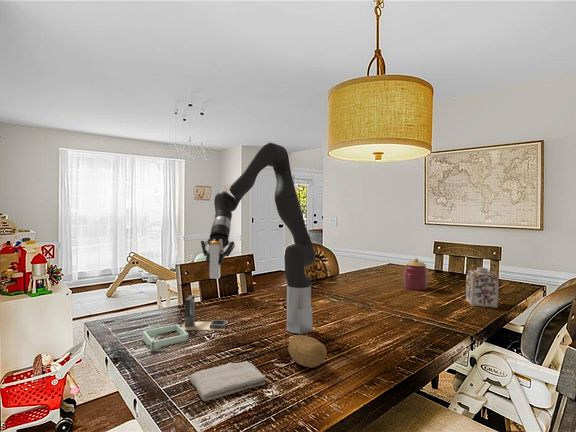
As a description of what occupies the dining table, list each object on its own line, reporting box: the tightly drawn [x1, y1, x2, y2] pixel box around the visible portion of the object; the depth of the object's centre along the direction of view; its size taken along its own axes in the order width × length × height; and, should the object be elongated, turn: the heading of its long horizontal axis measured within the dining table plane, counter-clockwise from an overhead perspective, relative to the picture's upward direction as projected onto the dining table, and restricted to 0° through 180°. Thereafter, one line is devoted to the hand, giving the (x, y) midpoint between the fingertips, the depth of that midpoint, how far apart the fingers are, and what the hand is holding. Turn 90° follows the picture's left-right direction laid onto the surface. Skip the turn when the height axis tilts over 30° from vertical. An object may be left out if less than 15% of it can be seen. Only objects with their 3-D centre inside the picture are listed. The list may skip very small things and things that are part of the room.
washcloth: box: [188, 360, 266, 402], centre depth 92 cm, size 12×18×3 cm, turn 122°
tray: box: [141, 323, 190, 352], centre depth 119 cm, size 12×12×3 cm
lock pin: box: [209, 241, 221, 280], centre depth 132 cm, size 4×4×14 cm
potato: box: [287, 334, 328, 369], centre depth 103 cm, size 10×14×8 cm
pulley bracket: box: [180, 295, 228, 331], centre depth 132 cm, size 17×9×12 cm, turn 92°
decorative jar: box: [465, 266, 500, 309], centre depth 170 cm, size 12×12×18 cm
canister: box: [403, 257, 428, 291], centre depth 202 cm, size 13×13×18 cm
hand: (213, 263), depth 130 cm, fingers closed on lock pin, 3 cm apart
